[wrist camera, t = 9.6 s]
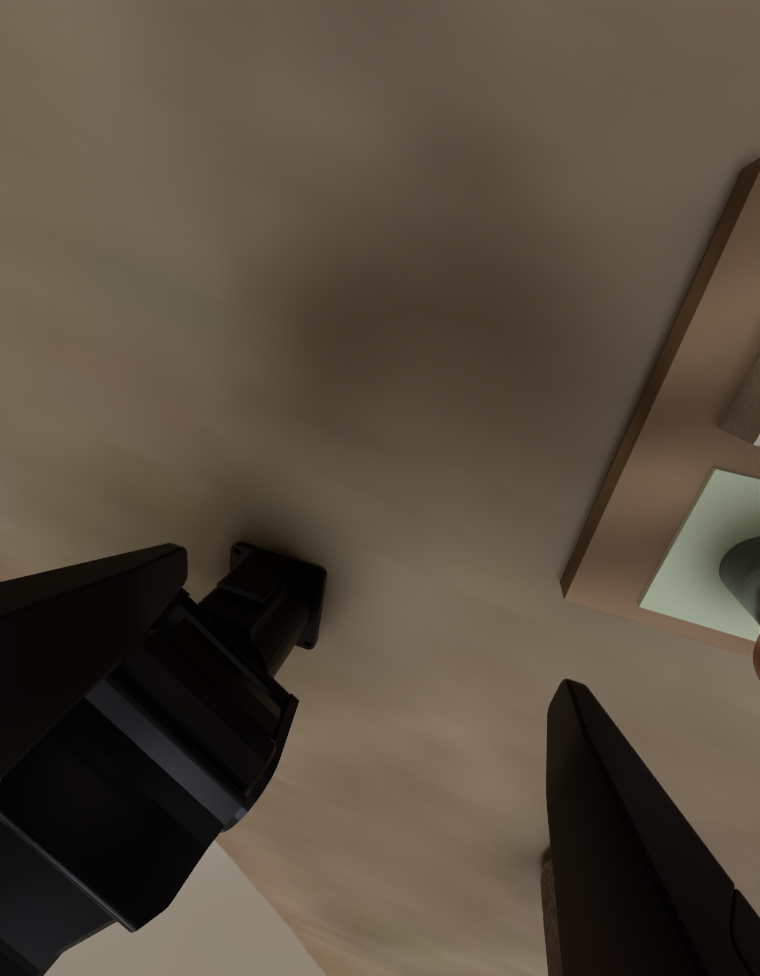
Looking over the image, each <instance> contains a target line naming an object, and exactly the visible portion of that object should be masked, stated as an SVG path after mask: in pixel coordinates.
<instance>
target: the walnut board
mask: <svg viewBox="0 0 760 976" xmlns="http://www.w3.org/2000/svg"><path fill="white" fill-rule="evenodd" d="M759 350H760V158H759V159H757V160H756V161H754V162H753V163H751V164H750V165H748V166H747V167H745V168H744V169H743V170H742V172H741V174H740V177H739V179H738V181H737V183H736V186H735V188H734V190H733V192H732V195H731V197H730V199H729V201H728V204H727V206H726V208H725V211H724V213H723V215H722V217H721V220H720V222H719V224H718V226H717V229H716V231H715V233H714V235H713V238H712V240H711V242H710V245H709V247H708V249H707V251H706V254H705V256H704V258H703V260H702V263H701V265H700V267H699V269H698V272H697V274H696V276H695V278H694V281H693V283H692V285H691V288H690V290H689V292H688V294H687V297H686V299H685V301H684V303H683V306H682V308H681V310H680V312H679V315H678V317H677V319H676V321H675V324H674V326H673V328H672V331H671V333H670V335H669V337H668V340H667V342H666V344H665V346H664V349H663V351H662V353H661V355H660V358H659V360H658V362H657V364H656V367H655V369H654V371H653V374H652V376H651V378H650V380H649V383H648V385H647V387H646V389H645V392H644V394H643V396H642V398H641V401H640V403H639V405H638V407H637V410H636V412H635V414H634V417H633V419H632V421H631V423H630V426H629V428H628V430H627V432H626V435H625V437H624V439H623V441H622V444H621V446H620V448H619V450H618V453H617V455H616V457H615V460H614V462H613V464H612V466H611V469H610V471H609V473H608V475H607V478H606V480H605V482H604V484H603V487H602V489H601V491H600V493H599V496H598V498H597V500H596V503H595V505H594V507H593V509H592V512H591V514H590V516H589V518H588V521H587V523H586V525H585V527H584V530H583V532H582V534H581V536H580V539H579V541H578V543H577V546H576V548H575V550H574V552H573V555H572V557H571V559H570V561H569V564H568V566H567V568H566V570H565V573H564V575H563V577H562V579H561V582H560V584H561V589H562V593H563V597H564V600H567V601H570V602H574V603H577V604H580V605H583V606H587V607H590V608H593V609H596V610H600V611H603V612H606V613H610V614H613V615H616V616H619V617H623V618H626V619H629V620H633V621H636V622H639V623H642V624H646V625H649V626H652V627H656V628H659V629H662V630H665V631H669V632H672V633H675V634H678V635H682V636H685V637H688V638H692V639H695V640H698V641H701V642H705V643H708V644H711V645H715V646H718V647H721V648H724V649H728V650H731V651H734V652H737V653H741V654H744V655H747V656H751V657H753V651H754V646H755V643H756V642H755V641H752V640H748V639H745V638H742V637H738V636H735V635H732V634H728V633H725V632H722V631H718V630H715V629H712V628H708V627H705V626H701V625H698V624H695V623H691V622H688V621H685V620H681V619H678V618H675V617H671V616H668V615H665V614H661V613H658V612H655V611H651V610H648V609H645V608H641V607H639V606H638V604H637V602H638V600H639V598H640V597H641V595H642V593H643V591H644V589H645V587H646V586H647V584H648V582H649V580H650V578H651V577H652V575H653V573H654V571H655V569H656V567H657V566H658V564H659V562H660V560H661V558H662V557H663V555H664V553H665V551H666V549H667V548H668V546H669V544H670V542H671V540H672V538H673V537H674V535H675V533H676V531H677V529H678V528H679V526H680V524H681V522H682V520H683V519H684V517H685V515H686V513H687V511H688V509H689V508H690V506H691V504H692V502H693V500H694V499H695V497H696V495H697V493H698V491H699V490H700V488H701V486H702V484H703V482H704V480H705V479H706V477H707V475H708V473H709V471H710V470H711V468H712V467H714V468H719V469H723V470H727V471H731V472H736V473H740V474H744V475H749V476H753V477H757V478H760V446H757V445H753V444H751V443H748V442H746V441H744V440H742V439H740V438H737V437H735V436H733V435H731V434H729V433H726V432H724V431H722V430H720V429H718V426H719V424H720V423H721V421H722V419H723V417H724V415H725V413H726V411H727V410H728V408H729V406H730V404H731V402H732V400H733V398H734V396H735V395H736V393H737V391H738V389H739V387H740V385H741V383H742V381H743V380H744V378H745V376H746V374H747V372H748V370H749V368H750V367H751V365H752V363H753V361H754V359H755V357H756V355H757V353H758V352H759Z"/></svg>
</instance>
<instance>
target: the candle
mask: <svg viewBox="0 0 760 976" xmlns="http://www.w3.org/2000/svg"><path fill="white" fill-rule="evenodd" d="M541 898H542V908H543V920H544V933H545V944H546V955H547V965H548V976H562V968H561V957H560V946H559V935H558V924H557V913H556V901H555V890H554V879H553V868H552V857H551V859H550V860H549V861H548V862H547V863H545V865H544V866H543V871H542V873H541Z"/></svg>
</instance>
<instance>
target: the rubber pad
mask: <svg viewBox="0 0 760 976" xmlns="http://www.w3.org/2000/svg"><path fill="white" fill-rule="evenodd" d="M754 537H760V478H757V477H753V476H749V475H744V474H740V473H736V472H731V471H727V470H723V469H719V468H714V467H712V468H711V470H710V471H709V473H708V475H707V477H706V479H705V480H704V482H703V484H702V486H701V488H700V490H699V491H698V493H697V495H696V497H695V499H694V500H693V502H692V504H691V506H690V508H689V509H688V511H687V513H686V515H685V517H684V519H683V520H682V522H681V524H680V526H679V528H678V529H677V531H676V533H675V535H674V537H673V538H672V540H671V542H670V544H669V546H668V548H667V549H666V551H665V553H664V555H663V557H662V558H661V560H660V562H659V564H658V566H657V567H656V569H655V571H654V573H653V575H652V577H651V578H650V580H649V582H648V584H647V586H646V587H645V589H644V591H643V593H642V595H641V597H640V598H639V600H638V602H637V604H638V606H639V607H641V608H645V609H648V610H651V611H655V612H658V613H661V614H665V615H668V616H671V617H675V618H678V619H681V620H685V621H688V622H691V623H695V624H698V625H701V626H705V627H708V628H712V629H715V630H718V631H722V632H725V633H728V634H732V635H735V636H738V637H742V638H745V639H748V640H752V641H755V642H756V641H757V638H758V636H759V634H760V625H759V624H758V623H757V622H756V621H755V620H754V618H753V617H752V616H751V615H750V614H749V613H748V612H747V610H746V609H745V608H744V607H743V606H742V605H741V604H740V602H739V601H738V600H737V599H736V598H735V597H734V596H733V594H732V593H731V592H730V591H729V590H728V589H727V588H726V586H725V585H724V584H723V583H722V581H721V579H720V576H719V566H720V563H721V560H722V558H723V557H724V555H725V554H726V553H727V552H728V551H729V550H730V549H731V548H732V547H734V546H735V545H737V544H739V543H741V542H743V541H745V540H748V539H751V538H754Z"/></svg>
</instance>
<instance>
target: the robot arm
mask: <svg viewBox="0 0 760 976" xmlns="http://www.w3.org/2000/svg"><path fill="white" fill-rule="evenodd" d="M238 549H240V551H241V552H240V551H239V550H238ZM315 574H317V575H319V576H320V578H319V577H317V576H316V575H315ZM187 575H188V569H187V551H186V549H185V548H184V547H182V546H179V545H176V544H173V543H167V544H162V545H158V546H154V547H150V548H145V549H141V550H137V551H132V552H128V553H124V554H119V555H115V556H111V557H106V558H102V559H98V560H93V561H89V562H85V563H80V564H76V565H72V566H68V567H63V568H59V569H55V570H50V571H46V572H42V573H37V574H33V575H29V576H24V577H20V578H16V579H11V580H7V581H3V582H0V976H43V975H44V974H45V973H46V972H47V970H48V969H49V968H50V967H51V966H52V965H53V964H54V962H55V961H56V960H57V959H58V958H59V956H60V955H61V954H62V953H63V952H64V951H66V950H68V949H69V948H71V947H73V946H75V945H76V944H78V943H80V942H82V941H84V940H85V939H87V938H89V937H90V936H92V935H94V934H96V933H98V932H99V931H101V930H103V929H104V928H106V927H108V926H110V925H112V924H113V923H115V922H119V923H120V924H121V925H122V926H123V927H124V928H126V929H127V930H128V931H129V932H131V933H132V932H135V931H137V930H138V929H140V928H141V927H142V926H144V925H145V924H146V923H148V922H149V921H151V920H152V919H153V918H154V917H156V916H157V915H158V914H160V913H161V912H163V911H164V910H165V909H166V908H167V907H168V906H169V905H170V904H171V902H172V901H173V899H174V898H175V896H176V895H177V893H178V892H179V890H180V889H181V887H182V886H183V884H184V883H185V881H186V879H187V878H188V877H189V875H190V874H191V872H192V871H193V869H194V867H195V866H196V865H197V863H198V861H199V860H200V859H201V857H202V856H203V854H204V853H205V851H206V850H207V849H208V847H209V846H210V845H211V843H212V842H213V841H214V840H215V838H216V837H217V836H218V834H219V833H221V832H226V831H227V830H229V829H230V828H232V827H233V826H234V825H235V824H236V823H238V822H239V821H240V820H241V819H242V818H243V817H244V815H245V814H246V813H247V812H248V811H249V810H250V809H251V807H252V806H253V805H254V804H255V802H256V801H257V800H258V798H259V797H260V795H261V794H262V792H263V791H264V789H265V788H266V786H267V785H268V783H269V781H270V780H271V778H272V776H273V774H274V772H275V770H276V768H277V765H278V763H279V760H280V757H281V754H282V751H283V748H284V745H285V742H286V739H287V736H288V733H289V730H290V727H291V724H292V721H293V718H294V715H295V712H296V709H297V706H298V703H299V700H298V699H297V698H296V697H295V696H294V695H293V694H289V693H288V692H287V691H286V690H285V689H284V688H283V687H282V686H281V685H280V684H279V683H278V682H277V681H276V680H275V679H274V677H275V675H276V673H277V672H278V670H279V669H280V667H281V666H282V664H283V663H284V661H285V660H286V658H287V657H288V655H289V653H290V652H291V650H292V649H293V647H294V646H295V645H296V646H299V647H302V648H305V649H308V650H311V649H313V648H314V646H315V645H316V642H317V636H318V630H319V623H320V616H321V610H322V603H323V596H324V590H325V583H326V572H325V571H324V570H323V569H322V568H320V567H317V566H314V565H310V564H307V563H304V562H301V561H298V560H295V559H292V558H289V557H286V556H283V555H280V554H277V553H274V552H271V551H268V550H265V549H262V548H258V547H255V546H252V545H249V544H246V543H243V542H236V543H235V544H234V545H233V546H232V547H231V556H230V572H229V573H228V574H227V575H226V576H225V577H224V578H223V579H221V580H220V581H219V582H218V583H217V587H216V588H215V589H213V590H212V591H211V592H210V593H209V594H208V595H207V596H206V597H205V598H203V599H202V600H201V601H200V602H199V603H198V604H196V603H195V602H194V601H193V600H192V599H191V598H190V597H189V595H190V594H189V593H188V592H187V591H186V590H185V589H183V588H181V587H182V586H183V585H184V583H185V582H186V579H187ZM308 641H309V642H308ZM546 798H547V812H548V823H549V835H550V846H551V857H552V868H553V879H554V890H555V901H556V913H557V924H558V935H559V946H560V957H561V968H562V976H760V917H759V916H758V915H757V913H756V912H755V911H754V909H753V908H752V907H751V905H750V904H749V903H748V901H747V900H746V899H745V897H744V896H743V895H742V893H741V892H740V891H739V890H738V889H734V887H735V886H734V883H733V881H732V880H731V879H730V877H729V876H728V875H727V873H726V872H725V871H724V869H723V868H722V867H721V865H720V864H719V863H718V861H717V860H716V859H715V857H714V856H713V855H712V853H711V852H710V851H709V849H708V848H707V847H706V845H705V844H704V843H703V841H702V840H701V838H700V837H699V836H698V834H697V833H696V832H695V830H694V829H693V828H692V826H691V825H690V824H689V822H688V821H687V820H686V818H685V817H684V816H683V814H682V813H681V812H680V810H679V809H678V808H677V806H676V805H675V804H674V802H673V801H672V800H671V798H670V797H669V796H668V794H667V793H666V792H665V790H664V789H663V788H662V786H661V785H660V784H659V782H658V781H657V780H656V778H655V777H654V776H653V774H652V773H651V771H650V770H649V769H648V767H647V766H646V765H645V763H644V762H643V761H642V759H641V758H640V757H639V755H638V754H637V753H636V751H635V750H634V749H633V747H632V746H631V745H630V743H629V742H628V741H627V739H626V738H625V737H624V735H623V734H622V733H621V731H620V730H619V729H618V727H617V726H616V725H615V723H614V722H613V721H612V719H611V718H610V717H609V715H608V714H607V713H606V711H605V710H604V709H603V707H602V706H601V704H600V703H599V702H598V700H597V699H596V698H595V696H594V695H593V694H592V692H591V691H590V690H589V688H588V687H587V686H586V685H584V684H582V683H579V682H576V681H573V680H570V679H564V680H563V681H562V682H561V683H560V685H559V687H558V689H557V691H556V693H555V695H554V697H553V699H552V701H551V703H550V705H549V708H548V714H547V760H546Z"/></svg>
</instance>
